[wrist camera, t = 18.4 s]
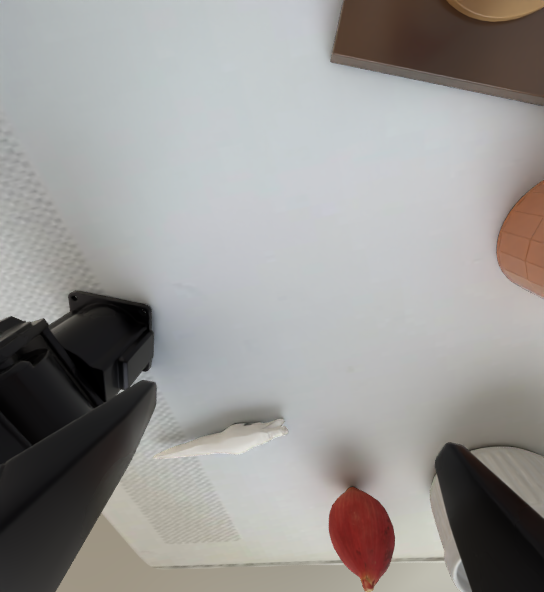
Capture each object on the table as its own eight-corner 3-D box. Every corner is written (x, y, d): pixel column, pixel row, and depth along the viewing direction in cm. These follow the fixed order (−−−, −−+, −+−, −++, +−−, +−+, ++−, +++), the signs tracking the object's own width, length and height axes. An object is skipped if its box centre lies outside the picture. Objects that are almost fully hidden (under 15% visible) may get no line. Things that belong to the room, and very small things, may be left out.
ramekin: (519, 530, 30) (578, 626, 24) (398, 508, 30) (425, 598, 24) (596, 448, 25) (700, 544, 18) (449, 422, 25) (501, 508, 18)
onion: (385, 472, 28) (416, 577, 21) (377, 507, 30) (403, 612, 23) (326, 468, 29) (337, 570, 21) (324, 503, 31) (332, 605, 24)
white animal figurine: (283, 408, 26) (282, 425, 24) (293, 428, 27) (293, 446, 25) (149, 441, 29) (140, 458, 27) (162, 457, 30) (154, 475, 28)
